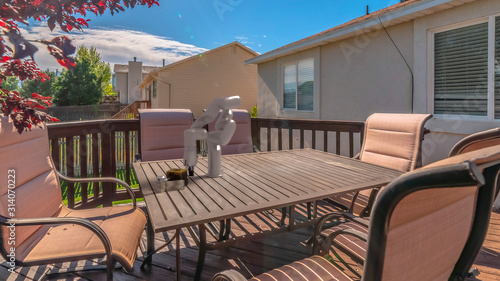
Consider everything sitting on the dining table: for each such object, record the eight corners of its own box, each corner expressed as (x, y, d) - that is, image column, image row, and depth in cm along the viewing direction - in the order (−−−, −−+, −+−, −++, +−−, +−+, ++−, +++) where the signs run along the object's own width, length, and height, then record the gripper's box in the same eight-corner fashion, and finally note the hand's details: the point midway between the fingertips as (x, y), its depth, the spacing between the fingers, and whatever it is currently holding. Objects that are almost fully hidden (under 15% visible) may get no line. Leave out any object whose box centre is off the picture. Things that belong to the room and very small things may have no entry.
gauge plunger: (168, 178, 172) (168, 172, 172) (174, 179, 170) (174, 173, 170) (154, 183, 162) (154, 176, 161) (161, 184, 160) (161, 177, 160)
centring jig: (163, 185, 177) (163, 177, 177) (185, 188, 171) (185, 180, 170) (148, 190, 165) (147, 182, 165) (170, 194, 159) (170, 185, 158)
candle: (181, 189, 171) (181, 172, 169) (165, 187, 173) (165, 171, 172) (188, 184, 180) (188, 168, 179) (173, 183, 183) (173, 167, 181)
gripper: (192, 146, 195) (193, 172, 197) (178, 149, 181) (179, 178, 184) (201, 147, 192) (202, 174, 195) (188, 150, 178) (189, 179, 181)
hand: (191, 176), depth 189 cm, fingers closed
